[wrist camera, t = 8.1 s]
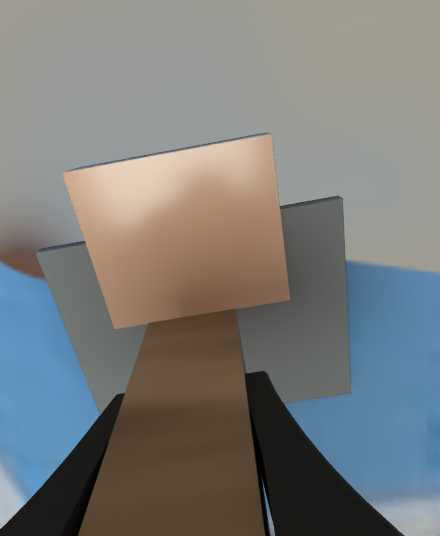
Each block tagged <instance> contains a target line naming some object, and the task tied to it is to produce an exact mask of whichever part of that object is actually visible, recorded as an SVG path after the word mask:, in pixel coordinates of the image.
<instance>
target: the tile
mask: <svg viewBox="0 0 440 536" xmlns="http://www.w3.org/2000/svg"><path fill="white" fill-rule="evenodd" d="M62 174H63V177H64V180H65V183H66V186H67V189H68V192H69V195H70V198H71V201H72V204H73V207H74V210H75V213H76V216H77V219H78V221H79V224H80V228H81V230H82V234H83V236H84V240H85V242H86V245H87V248H88V251H89V254H90V257H91V260H92V263H93V266H94V269H95V272H96V275H97V278H98V281H99V284H100V287H101V290H102V293H103V296H104V299H105V302H106V305H107V308H108V311H109V314H110V317H111V320H112V323H113V326H114V329H119V328H125V327H131V326H137V325H143V324H148V323H150V322H156V321H162V320H169V319H175V318H181V317H187V316H193V315H199V314H205V313H211V312H218V311H224V310H230V309H239V308H245V307H251V306H257V305H263V304H269V303H275V302H281V301H288V300H290V294H289V285H288V276H287V267H286V258H285V249H284V240H283V231H282V222H281V213H280V205H279V196H278V186H277V177H276V168H275V159H274V150H273V142H272V134H270V133H262V134H256V135H251V136H246V137H240V138H235V139H229V140H224V141H219V142H213V143H208V144H203V145H197V146H192V147H187V148H181V149H176V150H170V151H165V152H160V153H155V154H149V155H144V156H138V157H133V158H128V159H123V160H118V161H112V162H106V163H101V164H95V165H91V166H85V167H79V168H75V169H72V170H69V171H66V172H63V173H62Z"/></svg>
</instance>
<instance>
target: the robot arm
mask: <svg viewBox="0 0 440 536" xmlns="http://www.w3.org/2000/svg"><path fill="white" fill-rule="evenodd" d="M245 382H246V390H247V399H248V405H249V410H250V416H251V421H252V427H253V432H254V437H255V443H256V448H257V454H258V459H259V465H260V470H261V475H262V479H263V483H264V488H265V492H266V496H267V500H268V504H269V508H270V513H271V517H272V521H273V525H274V531H275V536H404V535H403V534H402V533H401V532H399V531H398V530H397V529H396V528H395V527H394V526H393V525H392V524H391V523H390V522H389V521H387V520H386V519H385V518H384V517H383V516H382V515H381V514H380V513H379V512H378V511H376V510H375V509H374V508H373V507H372V506H371V505H370V504H369V503H368V502H367V501H366V500H365V499H363V498H362V497H361V496H360V495H359V494H358V493H357V492H356V491H355V489H354V488H353V487H352V486H351V485H350V484H349V483H348V482H347V481H346V480H345V479H344V478H343V477H342V476H341V475H340V474H339V473H338V472H337V471H336V470H335V469H334V468H333V466H332V465H331V464H330V463H329V462H328V461H327V460H326V459H325V457H324V456H323V455H322V454H321V453H320V452H319V450H318V449H317V448H316V447H315V446H314V444H313V443H312V442H311V441H310V439H309V438H308V437H307V436H306V434H305V433H304V432H303V430H302V429H301V428H300V426H299V425H298V424H297V422H296V421H295V419H294V418H293V417H292V415H291V414H290V412H289V411H288V409H287V408H286V406H285V405H284V403H283V402H282V400H281V398H280V397H279V395H278V394H277V392H276V390H275V388H274V386H273V384H272V382H271V380H270V378H269V375H268V373H266V372H265V371H259V372H252V373H246V374H245ZM124 395H125V393H121V394H116V396H115V397H114V398H113V399H112V401H111V402H110V403H109V404H108V406H107V407H106V408H105V410H104V411H103V412H102V414H101V415H100V416H99V417H98V419H97V420H96V421H95V423H94V424H93V425H92V426H91V428H90V429H89V430H88V432H87V433H86V434H85V435H84V437H83V438H82V439H81V440H80V442H79V443H78V444H77V445H76V447H75V448H74V449H73V450H72V452H71V453H70V454H69V455H68V457H67V458H66V459H65V460H64V461H63V462H62V463H61V465H60V466H59V467H58V468H57V469H56V470H55V472H54V473H53V474H52V475H51V476H50V477H49V479H48V480H47V481H46V482H45V483H44V484H43V486H42V487H41V488H40V489H39V490H38V491H37V492H36V493H35V494H34V495H33V496H32V498H31V499H30V500H29V501H28V502H27V503H26V504H25V505H24V506H23V507H22V508H21V509H20V510H19V511H18V512H17V513H16V514H15V515H14V516H13V517H12V518H11V519H10V520H9V521H8V522H7V523H6V524H5V525H4V526H3V527H2V528H1V529H0V536H78V534H79V531H80V528H81V525H82V522H83V519H84V516H85V513H86V510H87V507H88V504H89V501H90V498H91V495H92V492H93V489H94V486H95V483H96V480H97V477H98V474H99V471H100V468H101V465H102V462H103V459H104V456H105V453H106V450H107V447H108V444H109V440H110V437H111V434H112V431H113V428H114V425H115V422H116V419H117V416H118V413H119V410H120V407H121V404H122V401H123V398H124Z"/></svg>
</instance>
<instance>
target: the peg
mask: <svg viewBox="0 0 440 536" xmlns="http://www.w3.org/2000/svg"><path fill="white" fill-rule="evenodd" d="M246 373H247V372H246V366H245V360H244V355H243V349H242V343H241V338H240V332H239V326H238V321H237V315H236V309H230V310H224V311H218V312H211V313H205V314H199V315H193V316H187V317H181V318H175V319H169V320H162V321H156V322H150V323H148V326H147V329H146V332H145V335H144V338H143V341H142V344H141V347H140V350H139V353H138V356H137V359H136V362H135V365H134V368H133V371H132V374H131V377H130V380H129V383H128V386H127V389H126V392H125V395H124V398H123V401H122V404H121V407H120V410H119V413H118V416H117V419H116V422H115V425H114V428H113V431H112V434H111V437H110V440H109V444H108V447H107V450H106V453H105V456H104V459H103V462H102V465H101V468H100V471H99V474H98V477H97V480H96V483H95V486H94V489H93V492H92V495H91V498H90V501H89V504H88V507H87V510H86V513H85V516H84V519H83V522H82V525H81V528H80V531H79V534H78V536H270V530H269V523H268V516H267V509H266V502H265V495H264V488H263V481H262V475H261V470H260V465H259V459H258V454H257V448H256V443H255V437H254V432H253V427H252V421H251V416H250V410H249V405H248V399H247V390H246V382H245V374H246Z"/></svg>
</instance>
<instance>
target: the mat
mask: <svg viewBox="0 0 440 536" xmlns="http://www.w3.org/2000/svg"><path fill="white" fill-rule="evenodd" d="M280 213H281V222H282V231H283V240H284V249H285V258H286V267H287V276H288V285H289V294H290V300H288V301H281V302H275V303H269V304H263V305H257V306H251V307H245V308H239V309H236V315H237V321H238V326H239V332H240V338H241V343H242V349H243V355H244V360H245V366H246V372H247V373H252V372H259V371H265V372H266V373H268V375H269V378H270V380H271V382H272V384H273V386H274V388H275V390H276V392H277V394H278V395H279V397H280V398H281V400H282V402H283V403H291V402H297V401H304V400H310V399H317V398H323V397H330V396H336V395H343V394H349V393H351V379H350V356H349V333H348V309H347V286H346V263H345V240H344V218H343V217H344V216H343V198H341V197H339V196H335V197H329V198H323V199H317V200H312V201H307V202H300V203H295V204H289V205H284V206H280ZM36 255H37V257H38V260H39V262H40V265H41V267H42V270H43V273H44V275H45V278H46V280H47V283H48V285H49V288H50V290H51V293H52V295H53V298H54V300H55V303H56V305H57V308H58V310H59V313H60V315H61V318H62V320H63V323H64V325H65V328H66V331H67V333H68V336H69V338H70V341H71V343H72V346H73V348H74V351H75V353H76V356H77V358H78V361H79V363H80V366H81V368H82V371H83V373H84V376H85V378H86V381H87V383H88V386H89V388H90V391H91V393H92V396H93V398H94V401H95V404H96V406H97V409H98V411H99V414H100V415H101V414H102V412H103V411H104V410H105V408H106V407H107V406H108V404H109V403H110V402H111V401H112V399H113V398H114V397H115V396H116V394H121V393H125V392H126V389H127V386H128V383H129V380H130V377H131V374H132V371H133V368H134V365H135V362H136V359H137V356H138V353H139V350H140V347H141V344H142V341H143V338H144V335H145V332H146V329H147V326H148V324H143V325H137V326H131V327H125V328H119V329H114V326H113V323H112V320H111V317H110V314H109V311H108V308H107V305H106V302H105V299H104V296H103V293H102V290H101V287H100V284H99V281H98V278H97V275H96V272H95V269H94V266H93V263H92V260H91V257H90V254H89V251H88V248H87V245H86V242H85V241H81V242H76V243H71V244H65V245H59V246H53V247H48V248H43V249H40V250H39V251H38V252H36Z"/></svg>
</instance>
